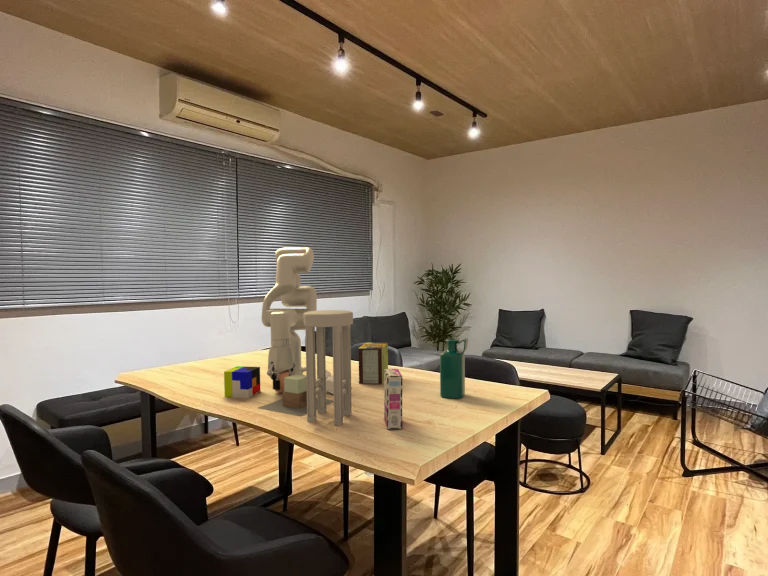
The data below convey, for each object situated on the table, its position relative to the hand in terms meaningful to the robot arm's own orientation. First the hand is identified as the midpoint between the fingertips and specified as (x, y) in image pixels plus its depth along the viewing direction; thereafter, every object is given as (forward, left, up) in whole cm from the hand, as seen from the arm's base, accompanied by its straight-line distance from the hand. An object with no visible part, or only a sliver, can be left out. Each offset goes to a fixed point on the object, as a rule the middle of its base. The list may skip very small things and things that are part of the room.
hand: (282, 387), depth 183 cm
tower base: (+10, +17, -2) cm, 20 cm away
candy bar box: (+11, +57, -3) cm, 58 cm away
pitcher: (-28, +62, -3) cm, 68 cm away
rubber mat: (+10, +17, -2) cm, 20 cm away
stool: (+16, +36, -3) cm, 39 cm away
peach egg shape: (0, 0, -1) cm, 1 cm away
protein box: (-36, +21, -3) cm, 42 cm away
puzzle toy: (+8, -13, -3) cm, 16 cm away
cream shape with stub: (-10, +18, -3) cm, 21 cm away
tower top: (+10, +17, +3) cm, 20 cm away
